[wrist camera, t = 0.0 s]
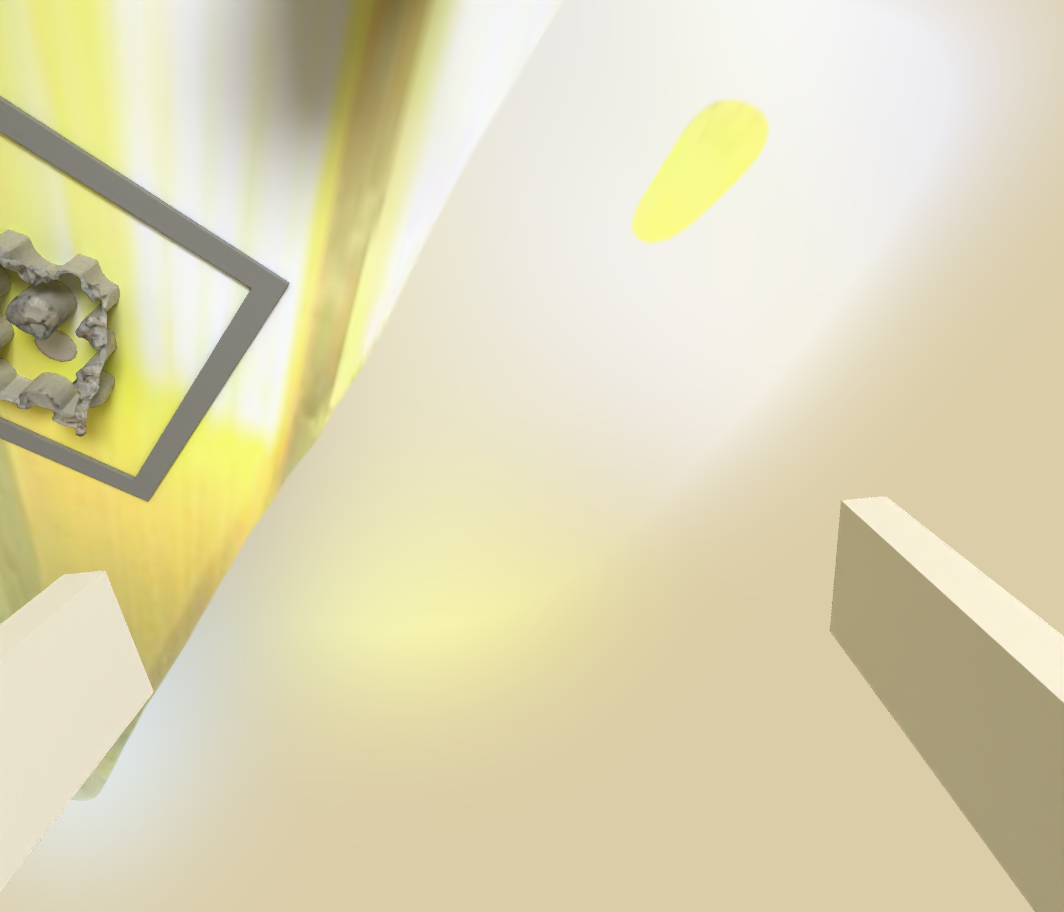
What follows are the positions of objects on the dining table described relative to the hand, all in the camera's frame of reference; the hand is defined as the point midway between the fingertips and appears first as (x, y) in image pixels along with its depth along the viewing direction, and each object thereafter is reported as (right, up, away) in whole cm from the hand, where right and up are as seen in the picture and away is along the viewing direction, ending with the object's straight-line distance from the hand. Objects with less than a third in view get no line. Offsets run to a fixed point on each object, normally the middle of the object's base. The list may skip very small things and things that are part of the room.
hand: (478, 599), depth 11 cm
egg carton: (-28, +11, +26) cm, 40 cm away
